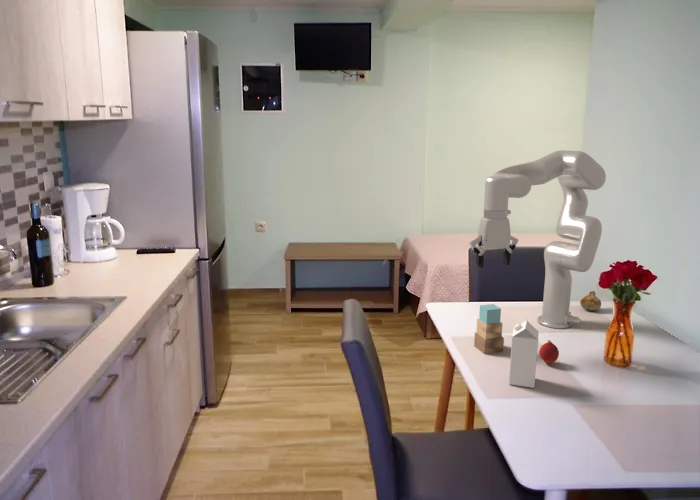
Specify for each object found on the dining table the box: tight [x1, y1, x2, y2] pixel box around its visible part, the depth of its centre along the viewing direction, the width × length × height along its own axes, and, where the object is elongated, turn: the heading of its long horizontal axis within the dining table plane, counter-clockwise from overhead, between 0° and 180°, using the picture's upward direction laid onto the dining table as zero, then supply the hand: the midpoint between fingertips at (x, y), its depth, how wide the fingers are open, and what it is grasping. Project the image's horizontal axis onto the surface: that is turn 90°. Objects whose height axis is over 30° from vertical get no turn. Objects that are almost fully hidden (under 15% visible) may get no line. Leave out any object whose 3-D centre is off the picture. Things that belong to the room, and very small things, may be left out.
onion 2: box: [579, 290, 602, 312], centre depth 227 cm, size 8×8×8 cm
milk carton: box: [508, 317, 539, 389], centre depth 164 cm, size 7×7×19 cm
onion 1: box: [538, 339, 560, 365], centre depth 177 cm, size 6×6×8 cm
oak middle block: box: [475, 318, 503, 339], centre depth 188 cm, size 6×6×5 cm
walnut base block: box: [473, 332, 505, 355], centre depth 189 cm, size 7×7×5 cm
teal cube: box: [478, 303, 502, 324], centre depth 187 cm, size 5×5×5 cm
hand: (493, 265), depth 186 cm, fingers open, 9 cm apart
